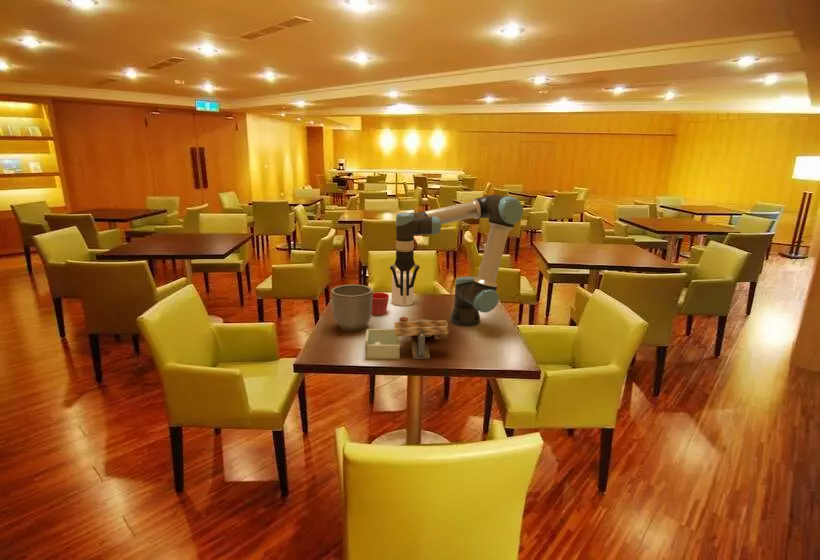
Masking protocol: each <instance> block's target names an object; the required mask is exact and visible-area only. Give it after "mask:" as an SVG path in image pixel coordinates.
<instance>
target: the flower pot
mask: <svg viewBox="0 0 820 560" xmlns="http://www.w3.org/2000/svg"><path fill="white" fill-rule="evenodd" d="M389 298H390V295H389V294H388V293H385V292H373V302H372V313H371V315H374V316H383V315H385V314H386V313H387V308H388V304H389Z"/></svg>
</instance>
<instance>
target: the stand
mask: <svg viewBox="0 0 820 560" xmlns="http://www.w3.org/2000/svg"><path fill="white" fill-rule="evenodd" d="M416 336H417V337H416V339H417V341H416V344H412V345H411V353H412V359H413V360H430V359H431V354H430V349H429V345H428V344H426V343H425V342H426V337H425V332H419V335H416Z"/></svg>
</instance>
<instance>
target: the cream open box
mask: <svg viewBox="0 0 820 560" xmlns="http://www.w3.org/2000/svg"><path fill="white" fill-rule="evenodd" d="M376 342H380V343H381V344H382V345H374V343H376ZM364 344H365V345H364V350H365V351H364V354H365V355H364V359H365V360H400V359H401V358H400V357H401V355H400V353H401V349H400V348H401V345H400V344H401V343H400V336H395V328H367V329H366V331H365V341H364Z"/></svg>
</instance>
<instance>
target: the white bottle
mask: <svg viewBox="0 0 820 560" xmlns="http://www.w3.org/2000/svg"><path fill="white" fill-rule="evenodd" d="M395 271H396V275H397V279H398V283H399V284H400V270H399V269H398V268H397V267H396V269H395ZM412 276H413V271H412V269H411V270H410V271H409V284H411V280H412ZM403 288H406V271H403ZM414 292H415V285H414V286H413V287H412V288H409V296H406V304H403V296H401V295H400V288H397V287H396V284H395V280H394V276H393V274H392V275H391V303H392V305H396V306H400V307H402V306H403V307H406V306H411V305H413V304H414V301H415V300H414V299H415V298H414V296H415V295H414Z"/></svg>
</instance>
